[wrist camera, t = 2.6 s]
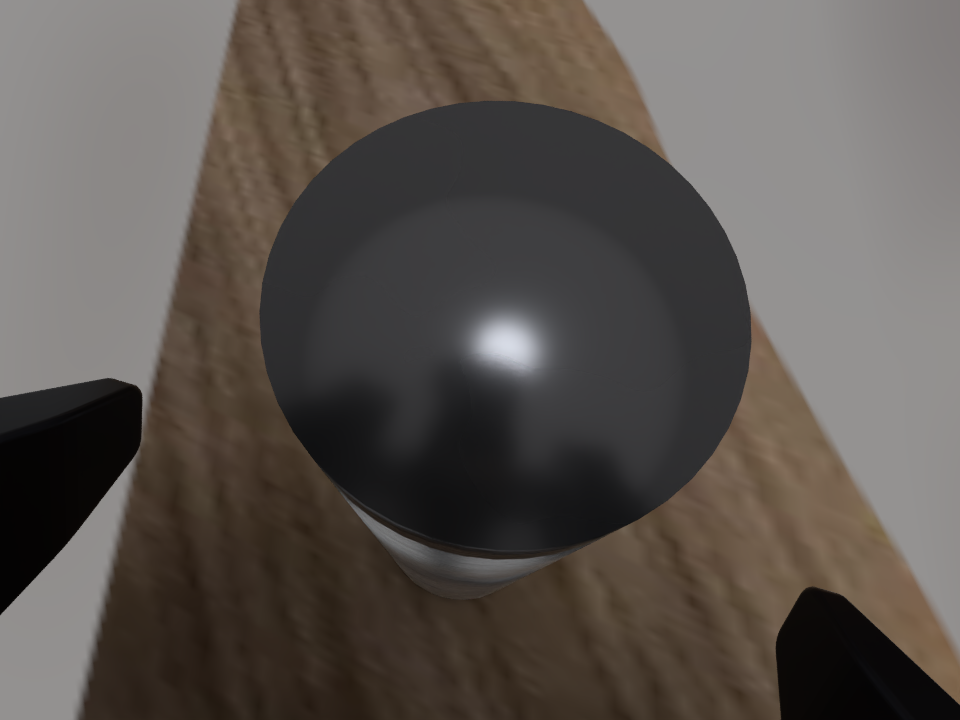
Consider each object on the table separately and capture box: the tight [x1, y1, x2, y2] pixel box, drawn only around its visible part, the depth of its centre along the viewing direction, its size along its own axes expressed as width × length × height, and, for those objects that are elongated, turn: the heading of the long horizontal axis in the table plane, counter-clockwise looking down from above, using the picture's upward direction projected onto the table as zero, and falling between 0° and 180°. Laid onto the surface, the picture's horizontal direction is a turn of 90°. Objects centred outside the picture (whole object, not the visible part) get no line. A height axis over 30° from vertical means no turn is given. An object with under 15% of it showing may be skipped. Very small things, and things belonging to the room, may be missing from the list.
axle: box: [260, 101, 751, 600], centre depth 11 cm, size 4×4×13 cm
